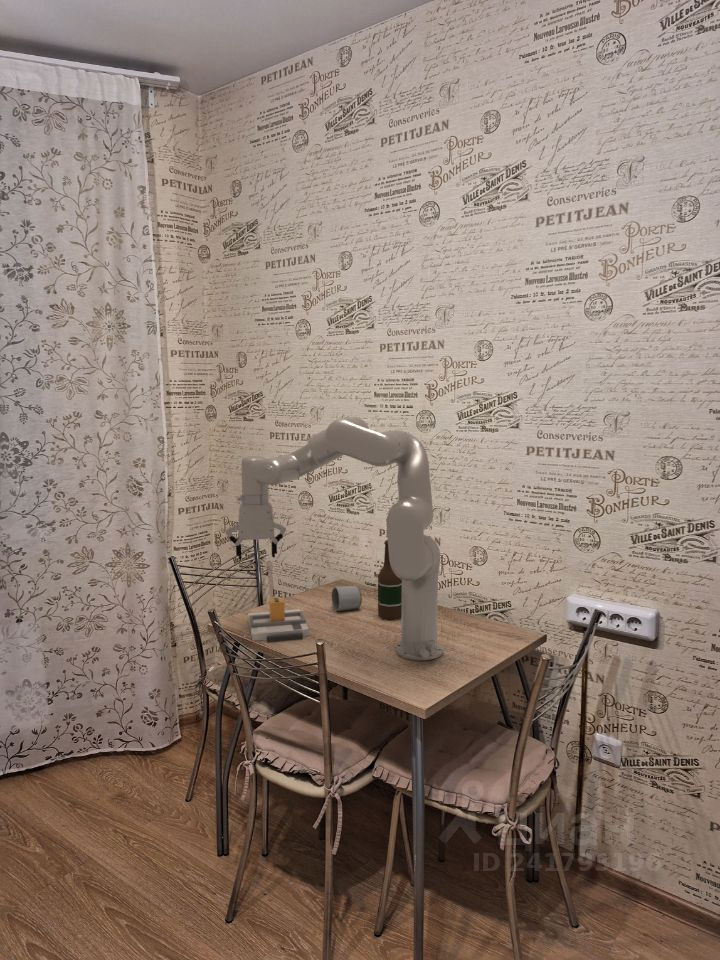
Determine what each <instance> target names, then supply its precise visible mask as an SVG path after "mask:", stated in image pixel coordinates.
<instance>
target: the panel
mask: <svg viewBox="0 0 720 960" xmlns="http://www.w3.org/2000/svg"><path fill="white" fill-rule="evenodd" d="M247 620H248V621H247V622H248V625H249V631H250V637H251V641H252V642H257V641H267V636H272V635H283V634H294V633H302V634H303V637H308V636H310V633H309V631H310V630H309V627H308V624H307V622H306V621H307V620H306V618H305V616H304V613H303V611H302V610H301V609H298V608H297V609H287V610H285V621H273V622H271V621H270V611H262V612H261V611H260V612H250V613H249V612H248V613H247Z"/></svg>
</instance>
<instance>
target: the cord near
mask: <svg viewBox="0 0 720 960" xmlns="http://www.w3.org/2000/svg"><path fill="white" fill-rule="evenodd" d="M303 639H304V636H303V634H302V633H294V634H283V635H272V636H267V640H266V642H267V643H277V642H279V643H280V642H287V641H301V640H303Z"/></svg>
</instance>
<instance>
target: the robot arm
mask: <svg viewBox="0 0 720 960" xmlns="http://www.w3.org/2000/svg"><path fill="white" fill-rule="evenodd" d="M343 456H346V457H350V458H352V459H355V460H358V461H361V462H362V463H365V464H368V465H371V466H374V467H381V468H382V467H387V466H391V465H393V464H396V465H397V476H396V477H397V480H396V481H397V491H398V492H397V493H398V494H397V495H398V501H397V502H395V503H394V504H393V505H392V506H391V507H390V508H389V510H388V514H387V516H386V536H387V540H388V550H389V560H390V565H391V568H392V570H393V572H394V573H395V575H396V576H397V577H398V578H400V579H402V617H401V642H399V643H397V644H396V646H395V653H396V654H397V656H399V657H401V658H403V659H407V660H410V661H411V660H412V661H419V662H420V661H422V662H423V661H430V660H435V659H438V658H439V657H441V656H442V655H443V653H444V647H443V646H442V645H441V644H440V643H438V596H439V595H438V591H439V590H438V589H439V587H438V586H439V573H440V563H441V551H440V548H439V545H438V543H437V541H436V540H434V539H433V538H432V537H431V536H429V535H425V532H424V531H425V530H426V529H428V527H430V526H431V524H432V522H433V520H434V509H433V507H434V506H433V496H432V486H431V485H432V484H431V476H430V463H429V459H428V457H429V456H428V453H427V450H426V449H425V446H424V445H423V443H422V442H421V440H419V439H418V437H416V436H415V435H414V434H411V433H409V432H407V431H402V430H396V429H393V430H392V429H391V430H388V431H384V432H383V431H382V432H379V431H376V430H372V429H370V428H369V425H368V424H367V422H366V421H365V420H363V419H362V418H359V417H357V416H349V417H342V418H337V419H335V420H333V421H332V422H331V423H330V424H329V425H328V426H327V427H326V429H323V430H321V431H320V432H318V433H316V434H314V435H312V436H310V437H309V438H308V441H307V444H305V445H304V446H302V447H300V448H298V449H296V450H295V451H292V452H291V453H288V454H285V455H280V456H275V457H270V458H266V457H264V456H260V455H259V456H258V455H257V456H256V455H255V456H254V455H253V456H245V457H243V458H242V460H241V495H237V496H236V500H237V502H238V501H239V502H241V503H240V505H239V509H238V518H237V519H238V521H237V522H238V523H236V524H234V525H232V526H231V527H230V528H228V529H225V533H226V535H227V537H228V539H229V541H231V542H232V543H233V544H234V545H235V551H236V553H235V554H236V556H237V557H238V560H241V559H242V558H243V557H242V544H241V543H243V541H244V540H245V541H252V540H253V541H254V540H267V539H268V540H269V539H270V541H271V558H276V554H278V543H279V542H280V541H281V540H282V539H283V537H284V535H285V533H286V531H287V527H285V526H283V525H281V524H279V523H277V522H274V521H275V519H274V511H273V506H272V503H271V502H270V500H269V497H270V496H269V485H270V486H277V485H281V484H283V483H287V482H293V481H294V480H296V479H298V478H300V477H302V476H305V475H307V474H309V473H311V472H313V471H315V470H317V469H319V468H321V467H323V466H325V465H328V464H330V463H331V462H332V461H335V460H337V459H339V458H341V457H343ZM275 529H277V530H279V533H278V534H277V535H276V536H275ZM236 531H238V536H237V538H236V537H235V536H234V535H233V532H236Z"/></svg>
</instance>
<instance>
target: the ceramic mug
mask: <svg viewBox="0 0 720 960" xmlns="http://www.w3.org/2000/svg"><path fill="white" fill-rule="evenodd" d="M362 601H363V595H362V591H361V589H360V588H359V586H354V585H349V586H348V585H347V586H345V585H343V586H334V587H333V588H332V592H331V604H332V607H333V609H334V611H335V612H342V611H348V610H355V609H360V607H361V606H362Z"/></svg>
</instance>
